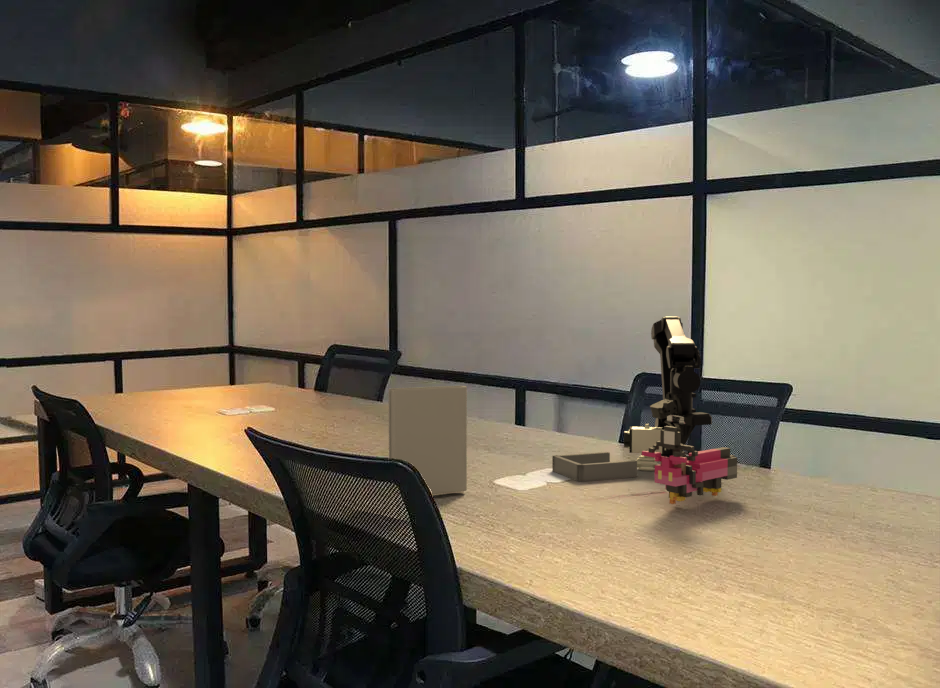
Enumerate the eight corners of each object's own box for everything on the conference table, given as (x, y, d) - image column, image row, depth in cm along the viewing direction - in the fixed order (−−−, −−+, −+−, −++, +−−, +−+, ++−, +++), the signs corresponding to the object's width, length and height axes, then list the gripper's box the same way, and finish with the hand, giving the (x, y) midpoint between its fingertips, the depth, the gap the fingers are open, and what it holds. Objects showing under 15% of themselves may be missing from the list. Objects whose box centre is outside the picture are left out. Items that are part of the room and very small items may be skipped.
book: (394, 498, 185) (394, 390, 184) (388, 495, 189) (388, 388, 188) (469, 490, 193) (469, 386, 192) (462, 487, 197) (462, 385, 196)
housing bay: (607, 466, 223) (607, 451, 223) (637, 476, 209) (637, 461, 209) (552, 471, 217) (552, 455, 217) (579, 481, 204) (579, 465, 203)
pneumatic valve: (670, 472, 215) (670, 425, 215) (623, 470, 218) (624, 424, 217) (669, 468, 221) (669, 422, 220) (624, 466, 223) (624, 421, 223)
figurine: (641, 502, 182) (642, 425, 182) (710, 486, 198) (711, 416, 197) (683, 511, 174) (684, 431, 173) (752, 494, 190) (753, 421, 189)
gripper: (635, 387, 227) (635, 444, 228) (676, 393, 210) (676, 455, 211) (670, 385, 231) (669, 442, 232) (713, 392, 214) (712, 453, 215)
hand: (680, 448), depth 222 cm, fingers closed
